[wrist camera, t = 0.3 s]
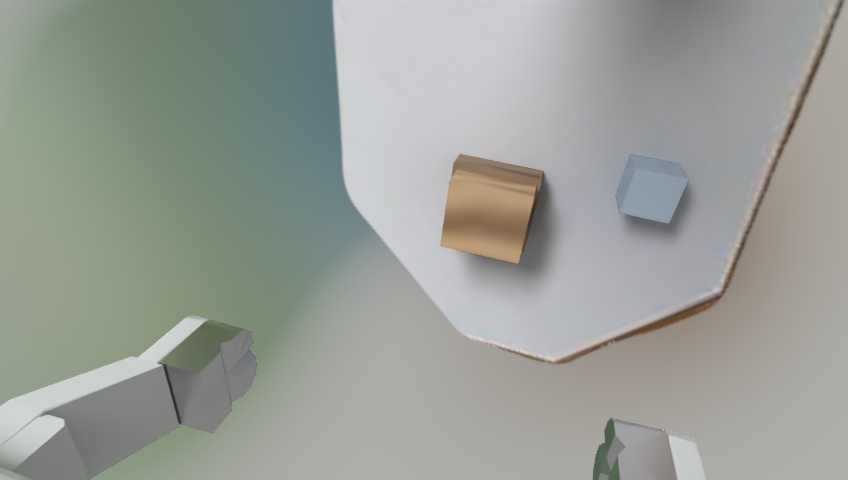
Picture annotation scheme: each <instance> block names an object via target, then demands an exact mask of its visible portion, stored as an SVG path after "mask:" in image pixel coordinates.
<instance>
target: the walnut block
mask: <svg viewBox="0 0 848 480" xmlns="http://www.w3.org/2000/svg"><path fill="white" fill-rule="evenodd" d="M457 170H461V171H466V172H471V173H477V174H482V175H487V176H492V177H497V178H502V179H507V180H512V181H518V182H523V183H528V184H533V185H536V189H535V196H534V201H533V205H532V209H531V213H530V217H529V222H528V226H527V230H526V234H525V238H524V242H523V246H522V251H524V248H525V244H526V240H527V236H528V233H529V229H530V225H531V221H532V217H533V214H534V210H535V206H536V202H537V198H538V195H539V191H540V187H541V183H542V178H543V171H540V170H536V169H531V168H526V167H521V166H516V165H511V164H506V163H502V162H497V161H492V160H487V159H482V158H477V157H472V156H468V155H463V154H460V155H459V156H458V158H457V159H456V161H455V162H454V165H453V171H452V177H453V175H454V174H455V172H456V171H457ZM451 179H452V178H451Z"/></svg>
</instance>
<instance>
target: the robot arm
mask: <svg viewBox="0 0 848 480" xmlns="http://www.w3.org/2000/svg"><path fill="white" fill-rule="evenodd" d="M252 345H253V337H252V332H251V331H249V330H247V329H243V328H240V327H236V326H232V325H229V324H225V323H221V322H218V321H214V320H209V319H205V318H202V317H198V316H194V315H193V316H189V317H186V318H185V319H184V320H183V321H181V322H180V323H179V324H178V325H177V326H175V327H174V328H173V329H172V330H171V331H169V332H168V333H167V334H166V335H165V336H163V337H162V338H161V339H160V340H159V341H157V342H156V343H155V344H154V345H153V346H151V347H150V348H149V349H148V350H147V351H145V352H144V353H143V354H142V355H141V356H139V357H138V358H136V357H129V358H127V359H124V360H121V361H118V362H115V363H112V364H109V365H107V366H104V367H101V368H98V369H95V370H92V371H90V372H87V373H84V374H81V375H78V376H76V377H73V378H70V379H67V380H64V381H61V382H59V383H56V384H53V385H50V386H47V387H44V388H42V389H39V390H36V391H33V392H30V393H28V394H25V395H22V396H19V397H16V398H14V399H11V400H9V401H7V402H6V403H5V404H3V405H2V406H0V480H91V478H92V477H94V476H96V475H98V474H99V473H101V472H103V471H104V470H106V469H108V468H109V467H111V466H113V465H115V464H117V463H118V462H120V461H122V460H123V459H125V458H127V457H129V456H130V455H132V454H134V453H135V452H137V451H139V450H141V449H142V448H144V447H146V446H148V445H149V444H151V443H153V442H154V441H156V440H158V439H159V438H161V437H163V436H164V435H166V434H168V433H170V432H171V431H173V430H175V429H177V428H178V427H179V426H180V425H184V426H187V427H191V428H195V429H198V430H202V431H206V432H210V433H214V431H215V430H216V429H217V428H218V427H219V425H220V424H221V423H222V422H223V421H224V419H225V418H226V417H227V416H228V414H229V413H230V412H231V411H232V410H231V409H232V408H231V407H232V401H234V400H237V399H239V398H240V397H243V396H244V395H245V393H246V392H247V391H248V390H249V388H250V387H251V385H252V382H253V380H254V378H255V376H256V369H257V362H256V357H255V356H254V354H253V353H252V352H251V351H250V349H249V348H250V347H251V346H252ZM179 424H180V425H179ZM604 432H605V443H603V444H601V445H599V447H598V450H597V454H596V457H595V463H594V469H593V480H707V478H706V475H705V472H704V468H703V465H702V461H701V458H700V454H699V451H698V448H697V445H696V442H695V440H694V439H693V438H692V437H691V436H687V435H682V434H678V433H674V432H670V431H665V430H664V431H663V430H661V429H656V428H652V427H648V426H643V425H639V424H635V423H631V422H627V421H622V420H618V419H614V418H610V420H609V421H608V422H607V425H606V428H605V431H604Z"/></svg>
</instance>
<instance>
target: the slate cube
mask: <svg viewBox="0 0 848 480" xmlns="http://www.w3.org/2000/svg"><path fill="white" fill-rule="evenodd" d="M688 180H689V179H688V177H687V176H686V174H685V173H684V171H683V170H682V168H681V167H680V165H679V164H678V163H673V162H668V161H663V160H658V159H653V158H648V157H642V156H637V155H632V154H630V157H629V160H628V163H627V165H626V168H625V171H624V174H623V176H622V179H621V182H620V185H619V188H618V190H617V193H616V200H617V204H618V208H619V213H622V214H627V215H631V216H636V217H640V218H645V219H649V220H654V221H659V222H663V223H668V224H669V223H670V221H671V219H672V216H673V214H674V212H675V209H676V207H677V205H678V202H679V200H680V198H681V196H682V193H683V191H684V189H685V186H686V184H687V182H688Z"/></svg>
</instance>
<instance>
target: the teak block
mask: <svg viewBox="0 0 848 480" xmlns="http://www.w3.org/2000/svg"><path fill="white" fill-rule="evenodd" d="M535 189H536V185H533V184H528V183H523V182H518V181H512V180H507V179H502V178H497V177H492V176H487V175H482V174H477V173H471V172H466V171H461V170H457V171H456V172H455V174H454V175H453V177H452V179H451V180H450V182H449V189H448V196H447V203H446V210H445V217H444V224H443V232H442V239H441V246H442V247H446V248H451V249H455V250H459V251H464V252H468V253H473V254H477V255H482V256H486V257H490V258H495V259H499V260H504V261H508V262H512V263H517V264H518V263H519V259H520V255H521V251H522V246H523V242H524V238H525V234H526V230H527V226H528V222H529V217H530V213H531V209H532V205H533V201H534V196H535Z"/></svg>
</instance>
